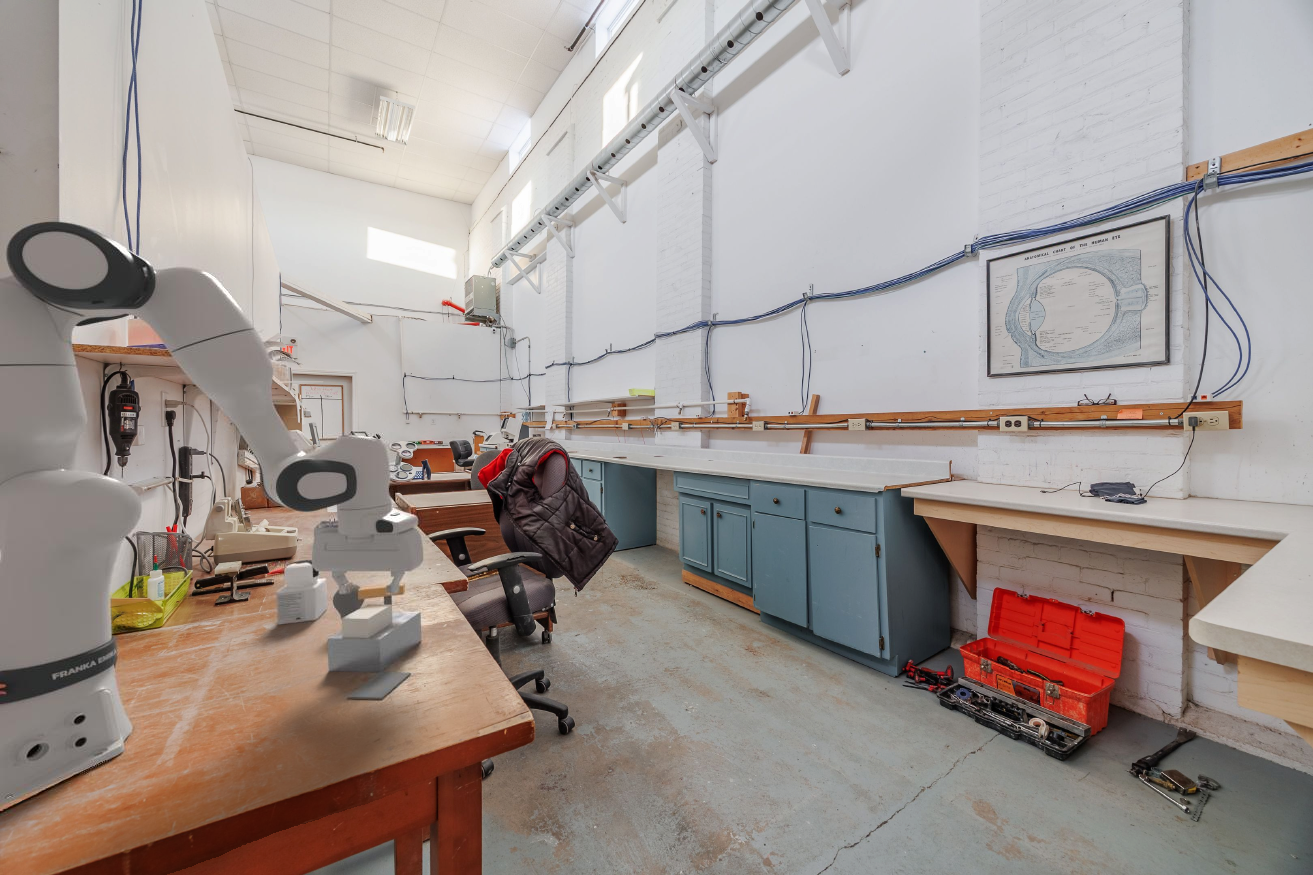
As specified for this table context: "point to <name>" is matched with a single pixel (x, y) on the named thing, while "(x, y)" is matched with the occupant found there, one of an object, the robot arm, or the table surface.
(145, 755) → the table surface
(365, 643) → the box
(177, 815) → the table surface
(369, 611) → the cream white box
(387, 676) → the mat
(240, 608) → the table surface
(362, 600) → the light bulb
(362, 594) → the t key
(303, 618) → the container
